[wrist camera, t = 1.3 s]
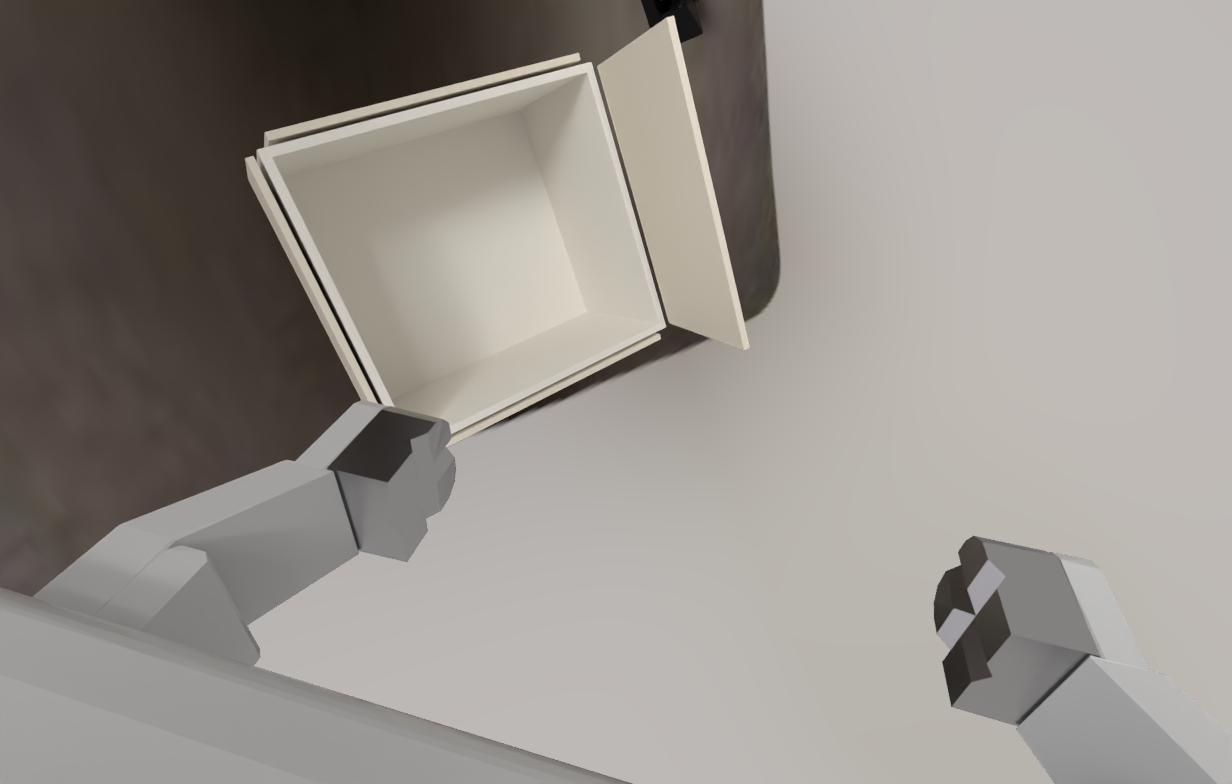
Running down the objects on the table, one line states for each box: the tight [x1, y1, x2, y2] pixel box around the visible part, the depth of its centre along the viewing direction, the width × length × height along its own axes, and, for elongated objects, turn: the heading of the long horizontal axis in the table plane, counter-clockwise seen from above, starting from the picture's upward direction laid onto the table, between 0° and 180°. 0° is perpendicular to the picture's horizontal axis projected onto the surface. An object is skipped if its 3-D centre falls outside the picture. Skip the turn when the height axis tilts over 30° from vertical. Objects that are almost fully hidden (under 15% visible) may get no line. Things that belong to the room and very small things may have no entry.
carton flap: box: [597, 16, 750, 350], centre depth 36 cm, size 17×10×1 cm
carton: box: [245, 53, 666, 448], centre depth 42 cm, size 19×21×12 cm
